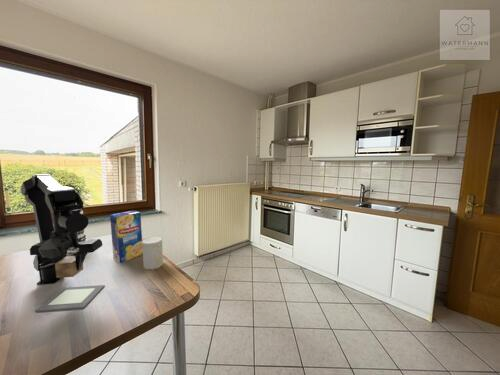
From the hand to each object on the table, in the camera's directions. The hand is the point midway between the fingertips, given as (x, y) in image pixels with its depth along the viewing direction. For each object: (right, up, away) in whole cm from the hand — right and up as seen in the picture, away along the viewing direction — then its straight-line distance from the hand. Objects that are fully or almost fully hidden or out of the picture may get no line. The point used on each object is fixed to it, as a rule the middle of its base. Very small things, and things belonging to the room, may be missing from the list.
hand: (70, 270), depth 71 cm
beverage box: (+1, -6, +32) cm, 33 cm away
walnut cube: (0, -1, 0) cm, 1 cm away
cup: (+17, -8, +24) cm, 31 cm away
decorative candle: (-31, -5, +40) cm, 51 cm away
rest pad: (0, -10, +1) cm, 10 cm away
